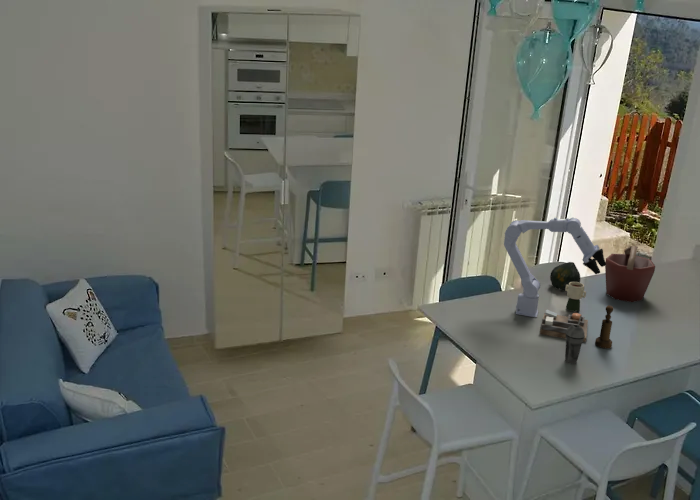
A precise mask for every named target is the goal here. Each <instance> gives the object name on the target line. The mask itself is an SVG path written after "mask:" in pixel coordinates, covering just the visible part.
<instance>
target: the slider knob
mask: <svg viewBox="0 0 700 500" xmlns="http://www.w3.org/2000/svg"><path fill="white" fill-rule="evenodd" d="M553 318H554V317H548V316H546V321H545V325H550V326H552V325H553Z"/></svg>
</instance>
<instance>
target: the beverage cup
mask: <svg viewBox="0 0 700 500" xmlns="http://www.w3.org/2000/svg"><path fill="white" fill-rule="evenodd" d="M581 317H583V316H582V314H581V316H580V319H579V322H578V325H572V326H570V327H569V328H568V329H567V331H566V339H565V353H564V358H565V359H564V361H565V362H566V363H567V364H570V365H576V364H577V363H578V360H579V356H580V352H581V350H582V349H581V348H582V345H583V343H584V342H583V340H584V338H585V334H584V330H583V329H582V327H580V326H579V324H580V320H581Z"/></svg>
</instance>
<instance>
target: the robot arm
mask: <svg viewBox="0 0 700 500" xmlns="http://www.w3.org/2000/svg"><path fill="white" fill-rule="evenodd" d="M531 230H548V231H549V232H551V233H568V234H570V235H571V237H572V238H573V240H574V242H575V243H576V245H577V246H578V248H579V249H580V251H581V253H582V255H583V258H582V259H581V260H582V265H583V266H584V267H587V268H588V269H589V270H591V271H592V272H593V273H594V274H595V275H598V274H601V270H600V267H601V268H603V267H605V266H606V263H605V262H606V259H605V256H604V249H603V248H600V246H599V244H596V245H595V244H594V243H593V241H592V240H591V238H590V237H589V235H588V234H587V232H586V231H585V229H584V227H582V224H581V221H580V219H578V218H576V217H571V218H568V217H566V218H565V219H564V218H558V217H554V218H551V219H549V221H545V220H544V221H543V220H528V219H520V220H518V219H517V220H513V221H511V222H510V224H509V226H508V227H507V228H506V230H505V232H504V239H503V245H504V248H505V250H506V252H507V254H508V256H509V258H510V260H511V262H512V264H513V266H514V268H515V269H516V271H517V274H518V276H519V278H520V280H521V285H522V288H523V293H521V292H520V293H518V296H517V301H516V305H515V315H518V316H519V315H520V316H525V317H530V318H531V317H532V318H537V317H538V314H539V310H538V306H539V301H540V300H539V299H540V295H539V290H540V288H541V283H540V280H538V279H537V278H536V277H535V275H534V274H532V273H531V271H530V268H529V267H528V264H527V262H526V260H525V259H524V257H523V255H522V253H521V250H520V249H519V246H518V245H517V242H518V239H519V237H520V236H521V234H524V233H527V232H528V231H531ZM598 264H599V266H600V267H599V266H598Z"/></svg>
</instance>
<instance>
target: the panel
mask: <svg viewBox="0 0 700 500" xmlns="http://www.w3.org/2000/svg"><path fill="white" fill-rule="evenodd" d="M546 316H548V315H545V312H544V314H543V316H542V319H541V320H542V321H541V324H540V329H539V335H542V336H543V335H544V336H548V337H549V336H550V337H555V338H559V339H560V338H561V339H565V340H566V331H567V329H568V328H569V327H570V326H572V325H578V322H579V320H575V319H573V318H572V314H568V316H566V315H561V314H557V317H556V318H553V325H552V326H550V325H545V321H546ZM548 317H551V316H548ZM585 318H586V317H585V316H582V317H581V320H580V324H579V326H580V327H582V329H583V330H584V334H585V338H584V340H583V342H582V343H586V342H587V337H588V336H587V335H588V326H589V325H588V323H589V320H588V319H585Z"/></svg>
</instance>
